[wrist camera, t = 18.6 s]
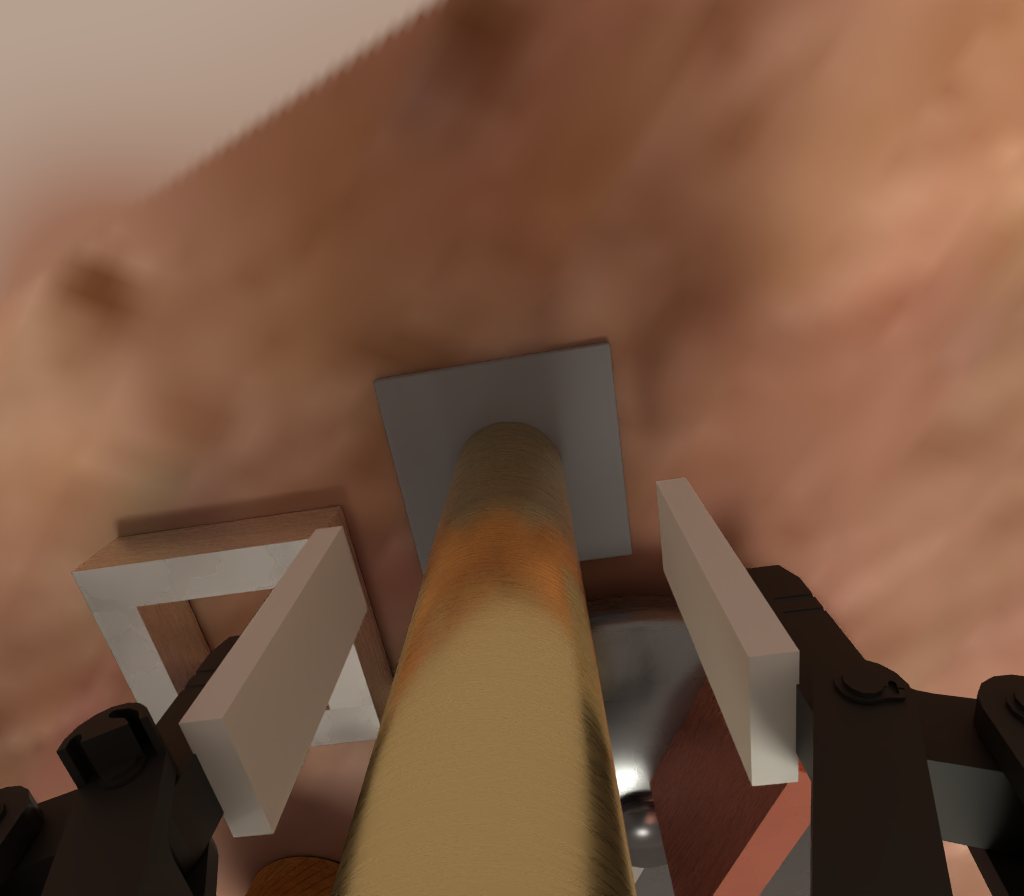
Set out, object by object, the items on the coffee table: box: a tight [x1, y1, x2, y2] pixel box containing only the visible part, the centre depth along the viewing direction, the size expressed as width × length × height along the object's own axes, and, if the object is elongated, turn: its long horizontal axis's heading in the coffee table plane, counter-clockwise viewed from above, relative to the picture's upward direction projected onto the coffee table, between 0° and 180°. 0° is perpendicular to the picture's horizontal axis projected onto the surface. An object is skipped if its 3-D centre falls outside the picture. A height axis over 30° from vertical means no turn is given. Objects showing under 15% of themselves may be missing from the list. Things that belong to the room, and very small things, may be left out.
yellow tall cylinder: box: [330, 421, 637, 896], centre depth 13 cm, size 4×4×15 cm
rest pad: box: [373, 342, 632, 577], centre depth 21 cm, size 8×8×1 cm
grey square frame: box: [71, 506, 393, 747], centre depth 22 cm, size 9×9×2 cm
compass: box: [586, 595, 811, 896], centre depth 21 cm, size 18×18×7 cm
